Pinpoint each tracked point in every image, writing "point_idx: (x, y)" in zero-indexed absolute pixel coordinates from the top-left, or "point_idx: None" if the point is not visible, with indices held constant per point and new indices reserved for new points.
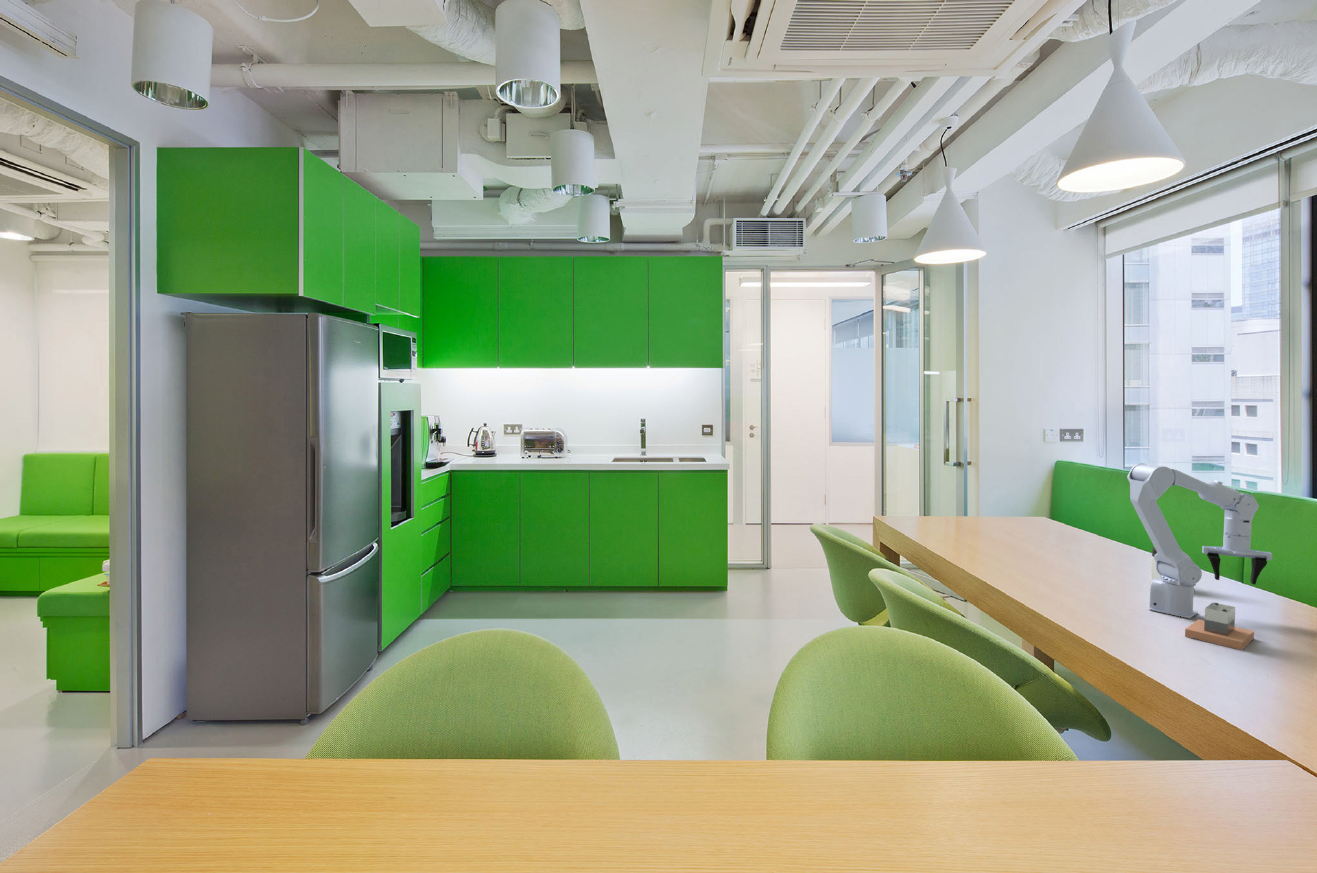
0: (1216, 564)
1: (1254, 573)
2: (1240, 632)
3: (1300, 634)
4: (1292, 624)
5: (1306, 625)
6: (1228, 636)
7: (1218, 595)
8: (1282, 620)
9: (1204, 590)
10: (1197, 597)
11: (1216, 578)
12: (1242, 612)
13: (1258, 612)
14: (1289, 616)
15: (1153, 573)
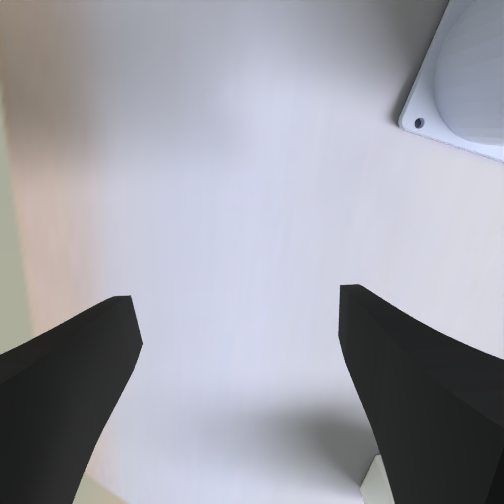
0: (459, 361)
1: (62, 342)
2: None
3: (11, 26)
4: (57, 200)
5: (17, 218)
6: None
7: (268, 448)
8: (91, 241)
9: (300, 480)
10: (338, 392)
11: (364, 287)
12: (214, 273)
13: (164, 308)
14: (76, 314)
15: None
